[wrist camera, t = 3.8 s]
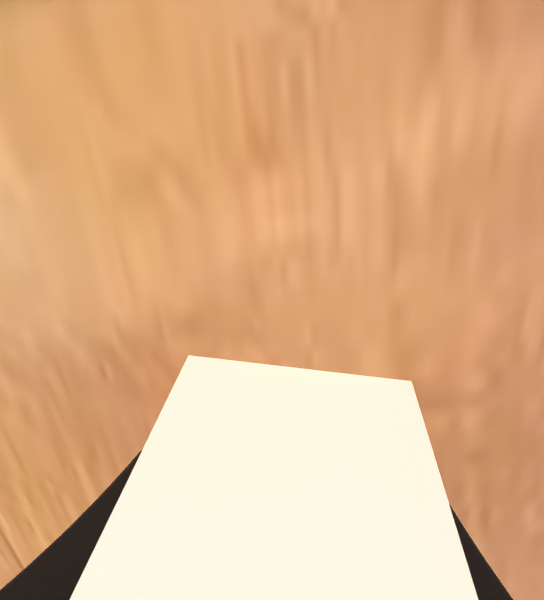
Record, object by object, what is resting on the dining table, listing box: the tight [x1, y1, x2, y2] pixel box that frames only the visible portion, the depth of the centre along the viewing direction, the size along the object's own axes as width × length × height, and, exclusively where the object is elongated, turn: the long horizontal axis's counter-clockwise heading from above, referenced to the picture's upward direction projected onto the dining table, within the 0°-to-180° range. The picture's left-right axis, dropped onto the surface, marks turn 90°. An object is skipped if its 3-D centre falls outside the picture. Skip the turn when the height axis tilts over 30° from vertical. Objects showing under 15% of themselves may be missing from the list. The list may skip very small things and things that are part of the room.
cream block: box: [70, 355, 478, 600], centre depth 9 cm, size 5×5×6 cm
